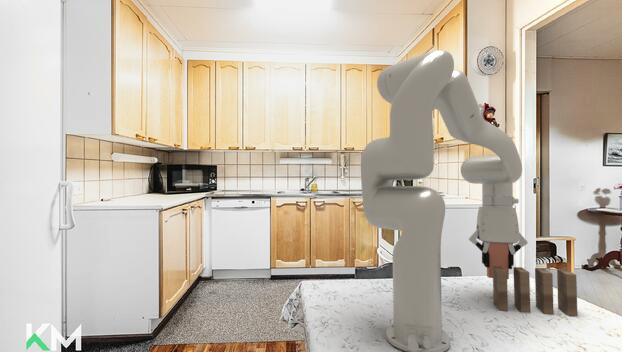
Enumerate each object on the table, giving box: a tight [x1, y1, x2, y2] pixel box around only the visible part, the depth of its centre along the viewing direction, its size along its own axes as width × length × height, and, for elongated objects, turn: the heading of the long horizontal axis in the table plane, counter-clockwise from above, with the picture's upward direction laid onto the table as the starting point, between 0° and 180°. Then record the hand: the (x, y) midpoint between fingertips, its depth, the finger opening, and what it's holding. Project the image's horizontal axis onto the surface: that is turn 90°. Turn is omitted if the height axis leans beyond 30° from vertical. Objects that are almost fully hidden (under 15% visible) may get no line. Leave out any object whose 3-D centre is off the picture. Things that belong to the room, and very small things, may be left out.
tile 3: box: [512, 266, 531, 314], centre depth 85 cm, size 5×2×10 cm, turn 166°
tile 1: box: [556, 268, 578, 317], centre depth 83 cm, size 5×2×10 cm, turn 166°
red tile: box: [486, 243, 510, 280], centre depth 93 cm, size 5×2×10 cm, turn 76°
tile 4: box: [492, 266, 509, 312], centre depth 87 cm, size 5×2×10 cm, turn 166°
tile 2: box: [534, 267, 554, 316], centre depth 84 cm, size 5×2×10 cm, turn 166°
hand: (497, 266), depth 93 cm, fingers closed on red tile, 4 cm apart
